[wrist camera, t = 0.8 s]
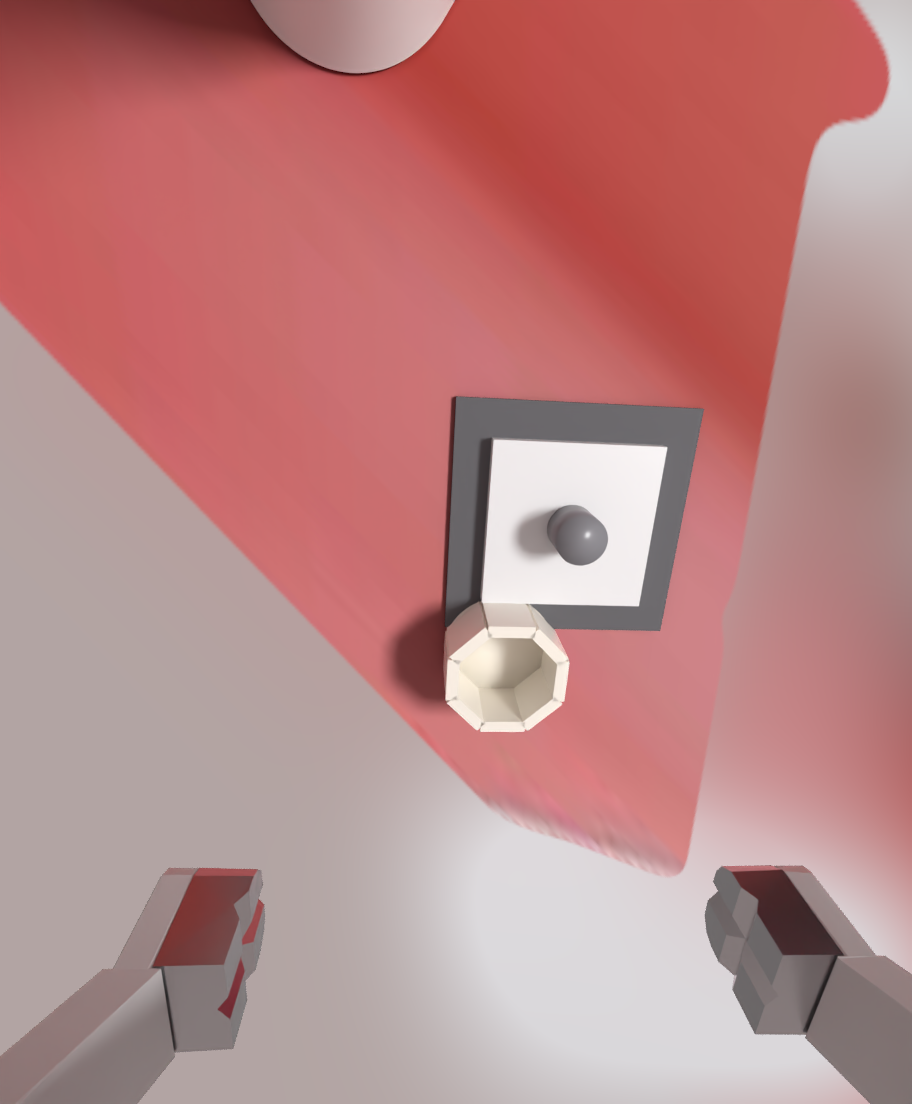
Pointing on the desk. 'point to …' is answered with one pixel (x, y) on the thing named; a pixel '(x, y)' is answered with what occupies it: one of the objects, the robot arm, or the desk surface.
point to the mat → (567, 423)
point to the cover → (569, 521)
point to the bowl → (503, 667)
